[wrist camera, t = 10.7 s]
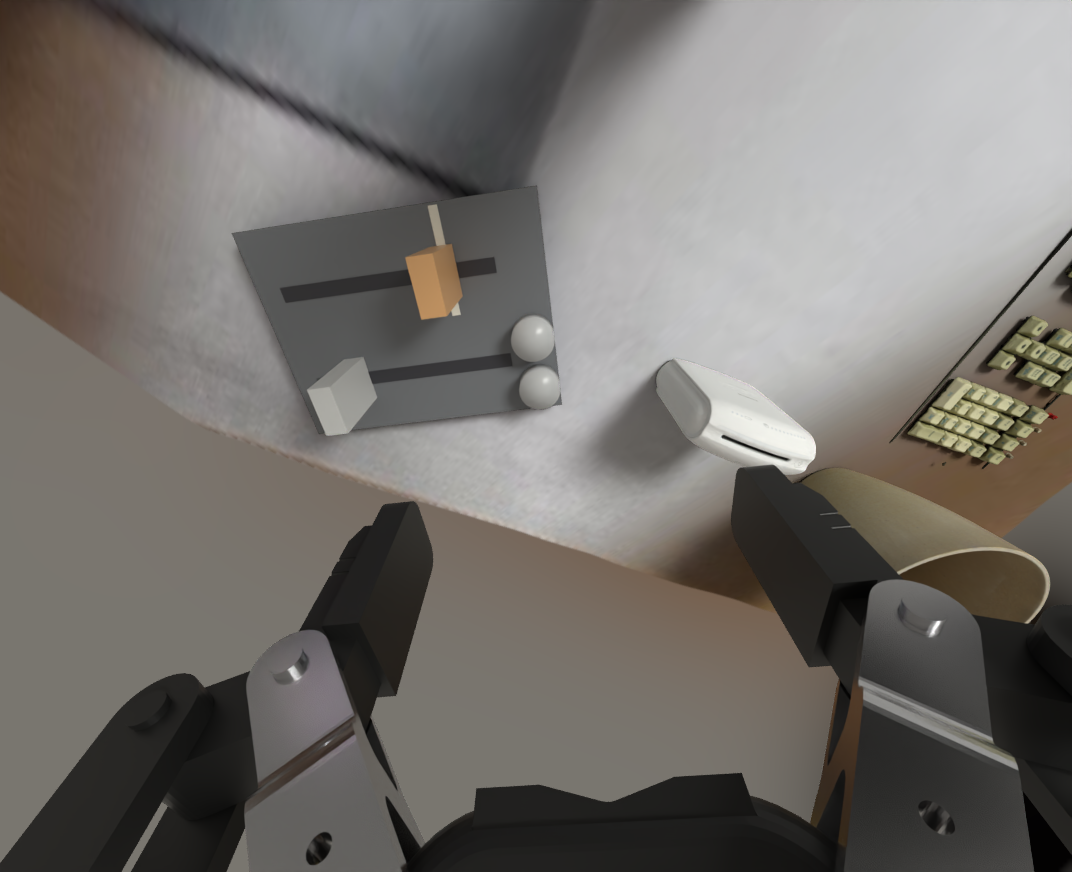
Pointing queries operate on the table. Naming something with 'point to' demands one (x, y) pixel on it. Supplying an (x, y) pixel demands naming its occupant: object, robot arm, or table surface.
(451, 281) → the fader cap
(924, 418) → the keyboard
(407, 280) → the console
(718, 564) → the table surface
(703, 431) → the photo printer
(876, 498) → the plant pot
